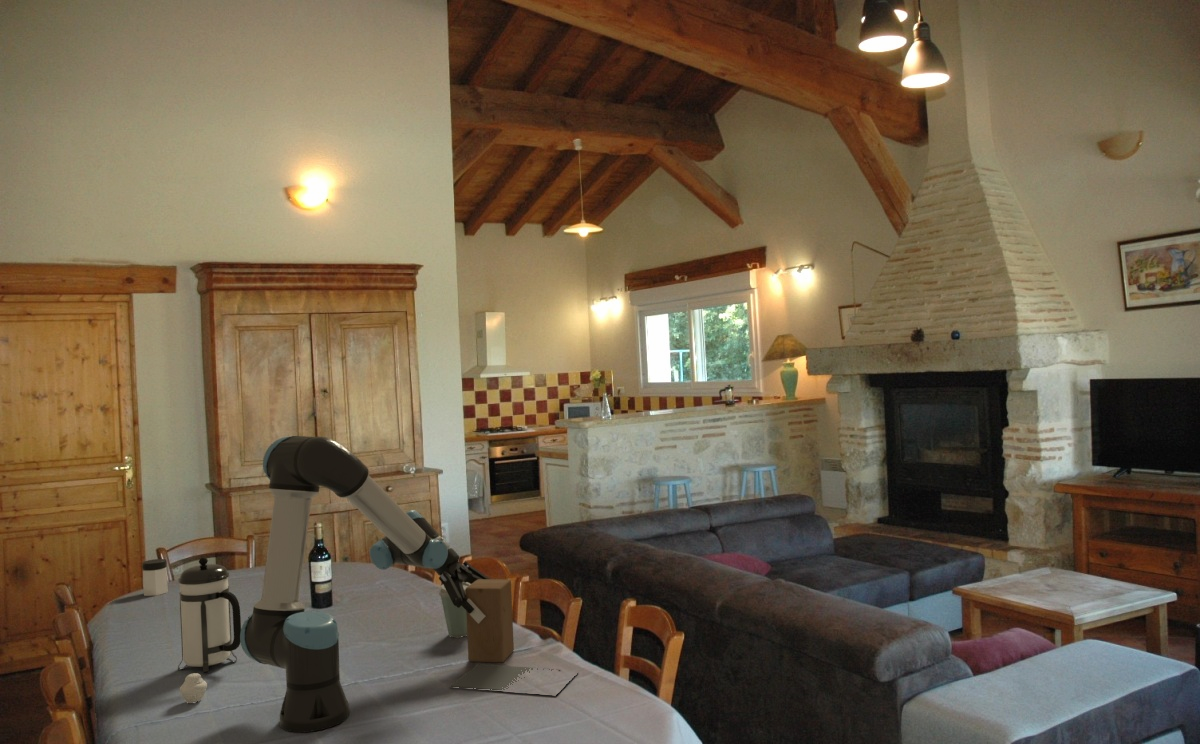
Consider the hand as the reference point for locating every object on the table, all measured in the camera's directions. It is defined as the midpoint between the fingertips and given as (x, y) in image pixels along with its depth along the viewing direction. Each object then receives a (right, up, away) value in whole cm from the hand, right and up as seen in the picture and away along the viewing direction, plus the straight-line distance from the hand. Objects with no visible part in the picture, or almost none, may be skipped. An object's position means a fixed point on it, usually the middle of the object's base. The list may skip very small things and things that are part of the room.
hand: (492, 612), depth 240 cm
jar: (-137, -17, +88) cm, 164 cm away
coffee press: (-78, -15, +2) cm, 79 cm away
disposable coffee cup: (-13, -12, +21) cm, 27 cm away
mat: (+8, -12, -19) cm, 24 cm away
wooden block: (0, -12, 0) cm, 12 cm away
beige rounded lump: (-70, -15, -25) cm, 76 cm away
